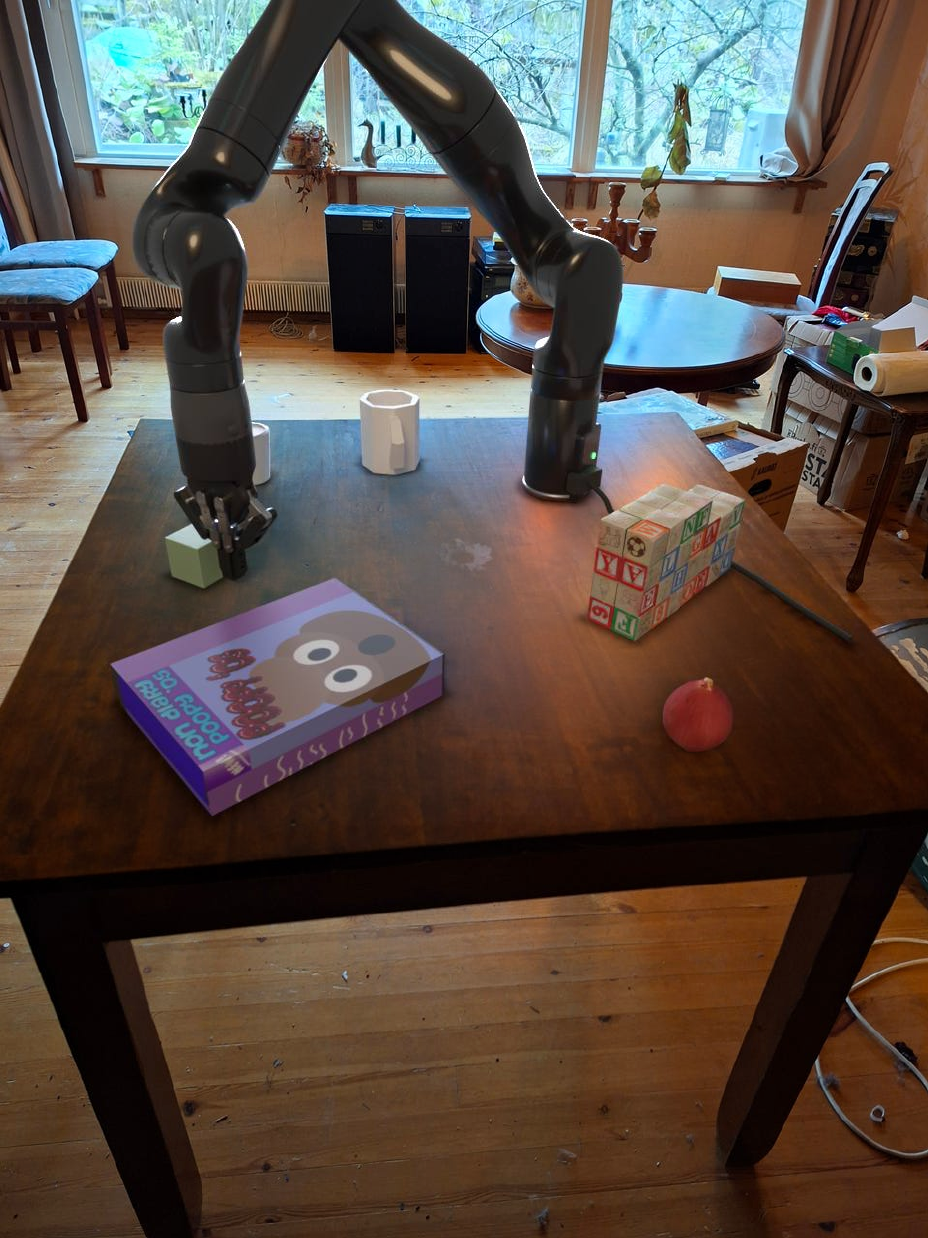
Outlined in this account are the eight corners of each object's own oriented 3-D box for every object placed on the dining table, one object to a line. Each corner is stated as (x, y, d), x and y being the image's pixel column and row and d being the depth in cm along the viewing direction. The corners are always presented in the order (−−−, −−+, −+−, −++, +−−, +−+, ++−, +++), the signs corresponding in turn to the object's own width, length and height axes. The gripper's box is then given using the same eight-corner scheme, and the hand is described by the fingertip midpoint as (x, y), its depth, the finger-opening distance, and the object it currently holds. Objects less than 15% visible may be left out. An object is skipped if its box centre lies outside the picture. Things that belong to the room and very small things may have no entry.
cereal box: (444, 653, 76) (200, 772, 62) (443, 694, 78) (209, 817, 65) (336, 577, 86) (107, 664, 73) (338, 615, 89) (118, 706, 76)
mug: (358, 454, 126) (355, 390, 120) (414, 450, 128) (414, 387, 122) (370, 487, 116) (367, 419, 111) (430, 483, 118) (431, 416, 113)
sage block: (235, 570, 96) (230, 531, 94) (203, 588, 93) (197, 549, 90) (203, 558, 98) (197, 520, 96) (171, 576, 95) (164, 537, 92)
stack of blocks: (684, 551, 103) (703, 458, 97) (731, 569, 100) (754, 474, 93) (585, 619, 90) (599, 517, 83) (635, 643, 87) (653, 538, 80)
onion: (648, 728, 75) (663, 657, 71) (710, 726, 76) (728, 655, 71) (667, 773, 71) (683, 700, 66) (733, 771, 71) (753, 698, 67)
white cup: (280, 469, 120) (275, 422, 117) (266, 489, 115) (261, 440, 111) (234, 466, 121) (228, 419, 117) (218, 485, 115) (211, 437, 111)
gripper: (289, 429, 83) (302, 578, 93) (192, 404, 89) (214, 547, 98) (237, 452, 78) (257, 608, 87) (137, 424, 83) (166, 574, 93)
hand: (234, 576), depth 93 cm, fingers closed
